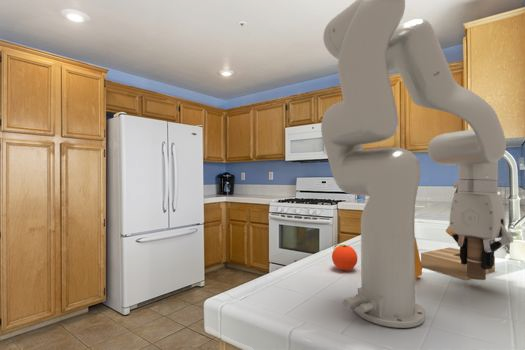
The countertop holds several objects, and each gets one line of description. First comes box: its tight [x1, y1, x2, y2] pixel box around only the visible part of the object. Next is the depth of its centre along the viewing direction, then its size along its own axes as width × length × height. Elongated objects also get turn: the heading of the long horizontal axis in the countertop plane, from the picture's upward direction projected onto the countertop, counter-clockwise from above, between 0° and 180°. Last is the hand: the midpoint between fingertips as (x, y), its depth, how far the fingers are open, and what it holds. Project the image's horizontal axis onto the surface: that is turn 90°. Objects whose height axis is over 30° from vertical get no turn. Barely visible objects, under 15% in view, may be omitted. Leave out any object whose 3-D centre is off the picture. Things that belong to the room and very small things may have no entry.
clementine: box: [331, 244, 359, 271], centre depth 83 cm, size 8×7×7 cm
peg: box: [467, 236, 487, 281], centre depth 69 cm, size 4×4×10 cm
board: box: [420, 247, 496, 280], centre depth 83 cm, size 14×12×4 cm
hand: (476, 265), depth 69 cm, fingers closed on peg, 3 cm apart
